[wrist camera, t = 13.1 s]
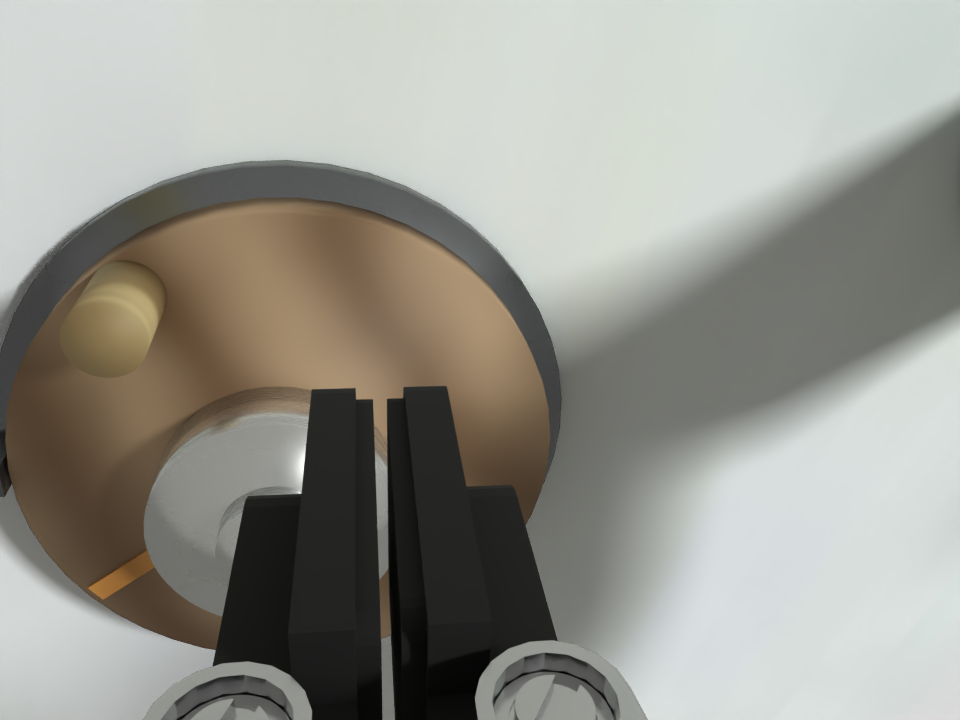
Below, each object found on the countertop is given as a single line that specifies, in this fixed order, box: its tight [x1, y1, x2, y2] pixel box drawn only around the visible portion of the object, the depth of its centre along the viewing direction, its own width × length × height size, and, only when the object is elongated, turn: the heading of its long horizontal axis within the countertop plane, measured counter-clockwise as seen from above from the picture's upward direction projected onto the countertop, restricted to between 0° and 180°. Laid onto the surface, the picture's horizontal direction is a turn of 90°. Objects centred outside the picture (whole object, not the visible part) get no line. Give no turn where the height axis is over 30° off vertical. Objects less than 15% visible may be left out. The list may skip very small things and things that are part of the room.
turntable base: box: [0, 160, 561, 497], centre depth 32 cm, size 22×22×3 cm
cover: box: [144, 386, 388, 616], centre depth 30 cm, size 9×9×4 cm
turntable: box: [5, 198, 550, 650], centre depth 30 cm, size 20×20×5 cm
